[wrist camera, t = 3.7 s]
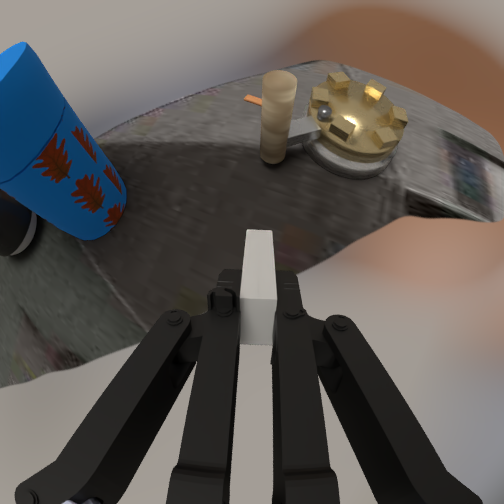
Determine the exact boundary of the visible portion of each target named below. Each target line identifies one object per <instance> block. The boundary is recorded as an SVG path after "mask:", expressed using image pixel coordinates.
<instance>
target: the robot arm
mask: <svg viewBox="0 0 504 504" xmlns="http://www.w3.org/2000/svg"><path fill="white" fill-rule="evenodd" d="M207 300H208V311H207V312H206V313H204V314H201V315H197V316H191V317H190V315H189V314H188V313H187V312H185V311H183V310H178V309H175V310H169V311H167V312H165V313H164V314H162V315H161V316H160V318H159V319H158V320H157V322H156V323H155V324H154V326H153V327H152V328H151V329H150V331H149V332H148V333H147V335H146V336H145V337H144V339H143V340H142V341H141V342H140V344H139V345H138V346H137V348H136V349H135V350H134V352H133V353H132V354H131V356H130V357H129V358H128V360H127V361H126V362H125V364H124V365H123V366H122V368H121V369H120V371H119V372H118V373H117V374H116V376H115V377H114V379H113V380H112V381H111V383H110V384H109V385H108V387H107V388H106V389H105V391H104V392H103V394H102V395H101V396H100V398H99V399H98V400H97V402H96V403H95V405H94V406H93V407H92V409H91V410H90V412H89V413H88V414H87V416H86V417H85V419H84V420H83V422H82V423H81V424H80V426H79V427H78V429H77V430H76V432H75V433H74V434H73V436H72V437H71V439H70V440H69V442H68V443H67V445H66V446H65V447H64V449H63V451H62V452H61V454H60V455H59V456H58V458H57V459H56V461H54V462H53V463H51V464H50V465H48V466H47V467H45V468H44V469H42V470H41V471H39V472H38V473H36V474H34V475H33V476H31V477H30V478H29V479H27V480H25V481H24V482H22V483H20V484H19V486H18V487H17V488H16V491H15V501H16V504H117V503H118V501H119V500H120V499H121V497H122V496H123V494H124V493H125V491H126V489H127V488H128V486H129V484H130V482H131V480H132V479H133V477H134V475H135V473H136V471H137V470H138V468H139V466H140V464H141V462H142V460H143V459H144V457H145V455H146V453H147V451H148V449H149V448H150V446H151V444H152V442H153V441H154V439H155V437H156V435H157V433H158V431H159V430H160V428H161V426H162V424H163V422H164V421H165V419H166V417H167V415H168V413H169V412H170V410H171V408H172V406H173V404H174V402H175V401H176V399H177V397H178V395H179V393H180V392H181V390H182V388H183V386H184V384H185V382H186V381H187V379H188V377H189V375H190V373H191V371H192V370H193V368H194V366H195V364H196V361H197V365H196V370H195V375H194V380H193V385H192V390H191V395H190V400H189V405H188V410H187V415H186V422H185V426H184V431H183V437H182V443H181V448H180V454H179V459H178V463H177V465H176V466H175V467H174V468H173V470H172V473H171V477H170V482H169V488H168V494H167V500H166V504H229V500H230V499H229V498H230V474H231V461H232V447H233V434H234V420H235V407H236V392H237V380H238V379H237V378H238V365H239V353H240V352H239V351H240V344H250V345H251V344H252V345H272V342H273V348H272V357H271V364H272V384H273V385H272V389H273V390H272V392H273V495H272V504H340V499H339V489H338V481H337V476H336V474H335V472H334V471H333V470H332V469H331V467H330V462H329V453H328V445H327V437H326V429H325V421H324V414H323V407H322V400H321V393H320V386H319V380H318V376H319V378H320V380H321V382H322V384H323V386H324V388H325V391H326V393H327V395H328V397H329V399H330V401H331V403H332V406H333V408H334V410H335V412H336V414H337V416H338V419H339V421H340V423H341V425H342V427H343V429H344V431H345V434H346V436H347V438H348V440H349V442H350V445H351V447H352V449H353V451H354V453H355V455H356V457H357V460H358V462H359V464H360V466H361V468H362V471H363V473H364V475H365V477H366V479H367V482H368V484H369V486H370V488H371V490H372V493H373V495H374V497H375V499H376V501H377V502H378V504H483V502H482V500H481V499H480V498H479V496H477V495H476V494H475V493H473V492H472V491H471V490H470V489H469V488H467V487H466V486H465V485H463V484H462V483H461V482H460V481H458V480H457V479H456V478H455V477H454V476H452V475H451V474H450V473H449V472H447V470H446V468H445V467H444V465H443V463H442V462H441V460H440V458H439V456H438V454H437V453H436V451H435V449H434V447H433V446H432V444H431V442H430V441H429V439H428V437H427V435H426V434H425V432H424V430H423V429H422V427H421V425H420V424H419V422H418V420H417V419H416V417H415V416H414V414H413V412H412V411H411V409H410V408H409V406H408V404H407V403H406V401H405V399H404V398H403V396H402V395H401V393H400V392H399V390H398V388H397V387H396V385H395V384H394V382H393V380H392V379H391V377H390V376H389V374H388V373H387V371H386V370H385V368H384V367H383V365H382V363H381V362H380V360H379V359H378V357H377V356H376V355H375V353H374V351H373V350H372V349H371V347H370V345H369V344H368V342H367V341H366V340H365V338H364V337H363V335H362V334H361V332H360V331H359V329H358V328H357V326H356V325H355V323H354V322H353V321H352V320H351V319H350V318H348V317H346V316H343V315H332V316H329V317H328V318H327V319H326V321H323V320H319V319H315V318H313V317H311V316H309V315H308V314H307V312H306V310H305V309H304V308H303V305H302V300H301V294H300V289H299V284H298V278H297V276H296V275H295V274H294V272H293V271H276V270H275V263H274V250H273V237H272V231H270V230H247V233H246V242H245V252H244V261H243V270H234V269H224V270H223V271H222V272H221V273H220V274H219V278H218V282H217V287H216V288H213V289H212V290H211V291H209V293H208V294H207Z"/></svg>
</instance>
